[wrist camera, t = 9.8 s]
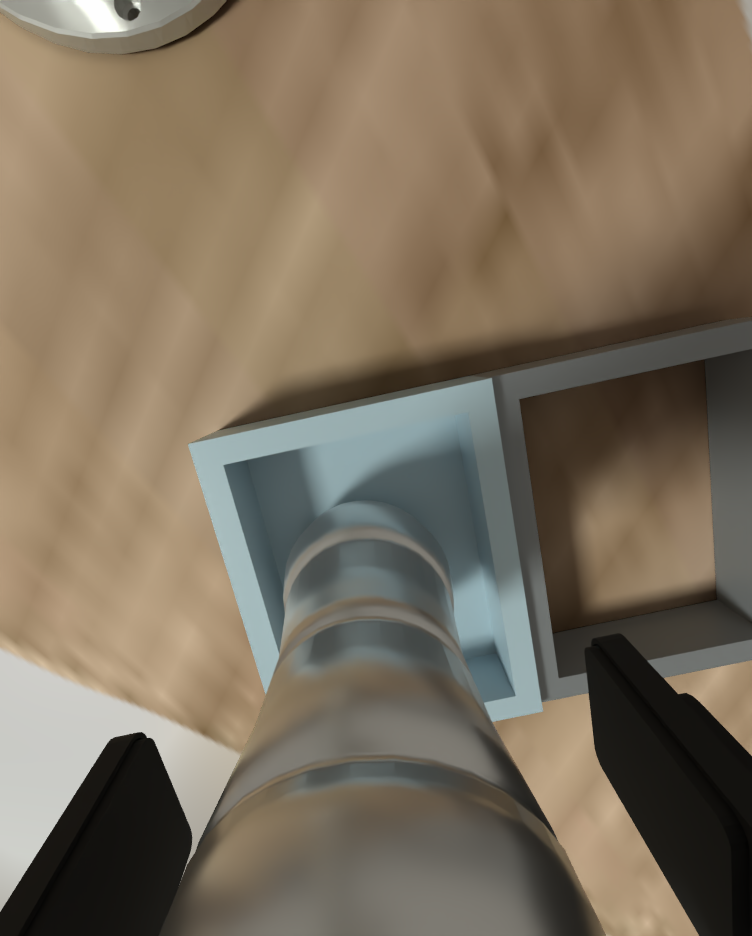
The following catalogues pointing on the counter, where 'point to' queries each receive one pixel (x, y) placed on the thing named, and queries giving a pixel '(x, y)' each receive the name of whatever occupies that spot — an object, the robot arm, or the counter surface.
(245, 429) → the bin
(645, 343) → the bin
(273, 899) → the plastic bottle
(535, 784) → the counter surface
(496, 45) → the counter surface
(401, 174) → the counter surface
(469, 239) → the counter surface
